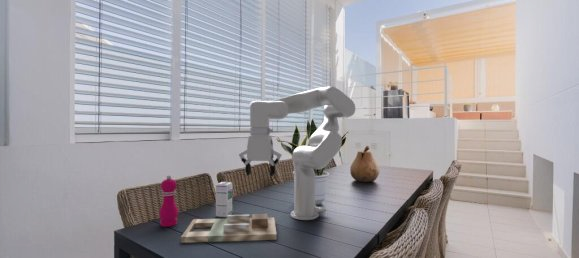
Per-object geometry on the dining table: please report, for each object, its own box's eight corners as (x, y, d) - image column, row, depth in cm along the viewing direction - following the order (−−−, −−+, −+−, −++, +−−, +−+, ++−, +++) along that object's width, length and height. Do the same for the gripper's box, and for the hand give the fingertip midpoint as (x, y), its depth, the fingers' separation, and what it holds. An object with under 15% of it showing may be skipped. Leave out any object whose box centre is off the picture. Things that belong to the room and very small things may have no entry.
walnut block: (267, 222, 112) (267, 213, 112) (267, 228, 106) (267, 218, 106) (252, 222, 111) (252, 214, 111) (251, 228, 105) (251, 219, 105)
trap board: (274, 222, 118) (274, 211, 118) (276, 239, 100) (276, 227, 100) (193, 224, 115) (193, 213, 115) (180, 242, 97) (180, 229, 97)
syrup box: (227, 217, 124) (228, 184, 123) (215, 216, 125) (215, 183, 124) (232, 213, 129) (233, 182, 129) (221, 212, 130) (221, 181, 130)
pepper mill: (162, 221, 118) (163, 173, 118) (180, 220, 119) (180, 173, 118) (156, 227, 111) (156, 176, 111) (175, 227, 112) (175, 176, 111)
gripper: (283, 131, 114) (283, 173, 114) (242, 131, 117) (243, 172, 117) (278, 132, 106) (279, 177, 107) (235, 132, 110) (236, 176, 110)
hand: (260, 175), depth 112 cm, fingers open, 9 cm apart
